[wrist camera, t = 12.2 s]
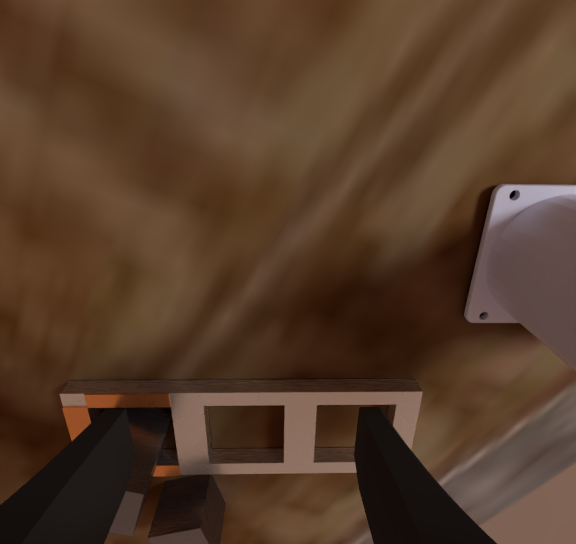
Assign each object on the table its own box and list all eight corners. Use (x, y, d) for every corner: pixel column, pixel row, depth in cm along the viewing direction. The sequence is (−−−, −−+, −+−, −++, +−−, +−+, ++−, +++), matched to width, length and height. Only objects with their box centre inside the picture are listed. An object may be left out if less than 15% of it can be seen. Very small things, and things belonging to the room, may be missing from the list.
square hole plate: (416, 378, 24) (423, 392, 23) (401, 457, 27) (407, 473, 26) (69, 380, 23) (58, 395, 22) (91, 460, 26) (82, 477, 25)
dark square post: (173, 408, 24) (143, 494, 19) (163, 445, 26) (132, 536, 20) (119, 396, 24) (73, 481, 18) (112, 434, 25) (66, 525, 20)
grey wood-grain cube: (210, 471, 27) (200, 528, 23) (225, 502, 28) (217, 560, 25) (165, 480, 27) (147, 538, 24) (181, 511, 29) (167, 570, 25)
